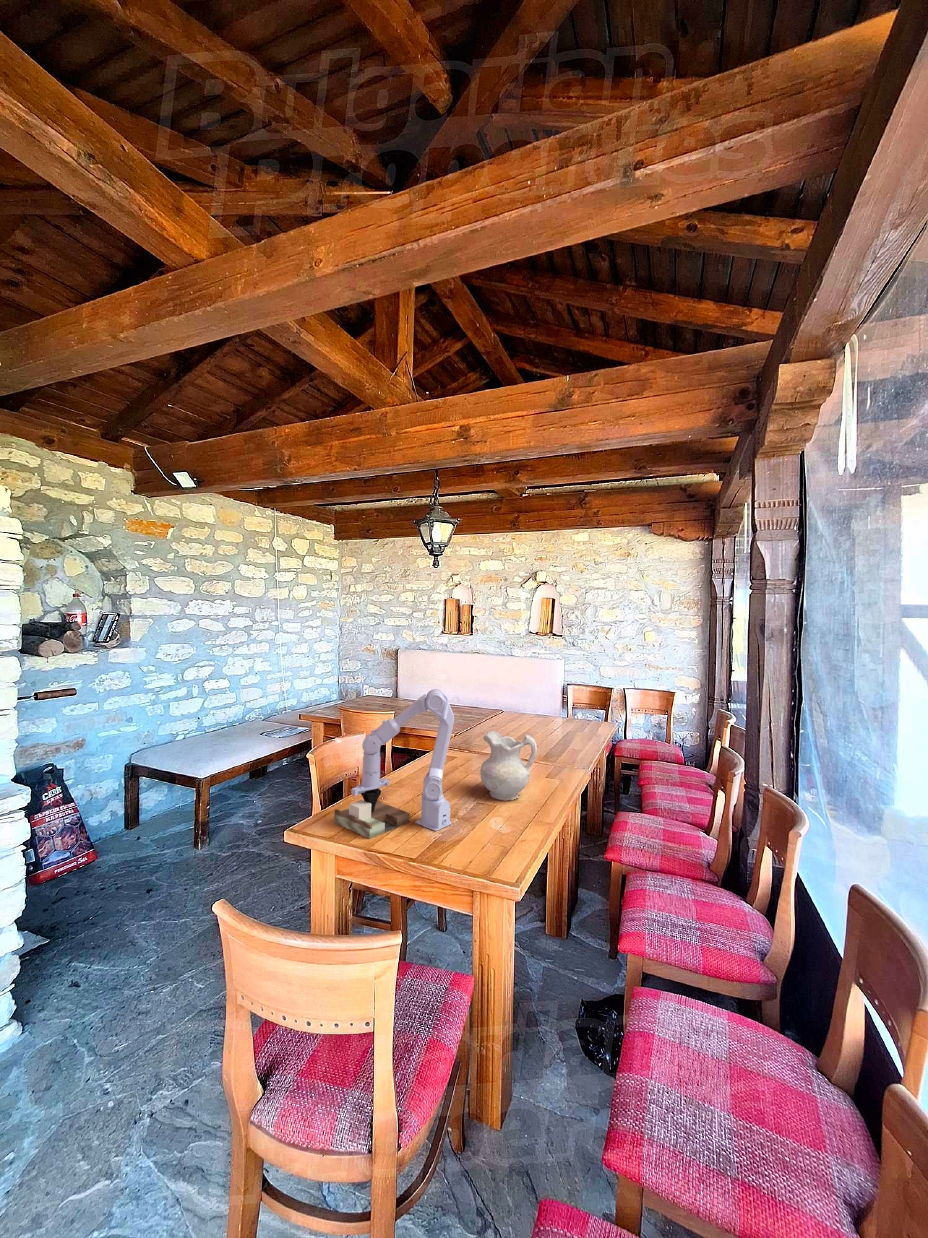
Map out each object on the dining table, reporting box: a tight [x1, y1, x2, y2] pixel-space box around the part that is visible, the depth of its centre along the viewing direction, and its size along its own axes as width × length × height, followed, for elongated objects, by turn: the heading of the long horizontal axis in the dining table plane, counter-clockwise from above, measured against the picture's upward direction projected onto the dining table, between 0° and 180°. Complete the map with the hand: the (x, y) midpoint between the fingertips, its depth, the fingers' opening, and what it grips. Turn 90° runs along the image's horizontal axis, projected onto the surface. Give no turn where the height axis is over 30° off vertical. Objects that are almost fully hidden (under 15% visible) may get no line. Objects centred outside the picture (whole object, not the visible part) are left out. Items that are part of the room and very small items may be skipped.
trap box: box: [333, 800, 411, 840], centre depth 162 cm, size 18×17×4 cm
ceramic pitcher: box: [479, 730, 538, 802], centre depth 191 cm, size 22×20×25 cm
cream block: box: [348, 799, 371, 820], centre depth 158 cm, size 5×5×4 cm
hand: (370, 812), depth 161 cm, fingers closed
